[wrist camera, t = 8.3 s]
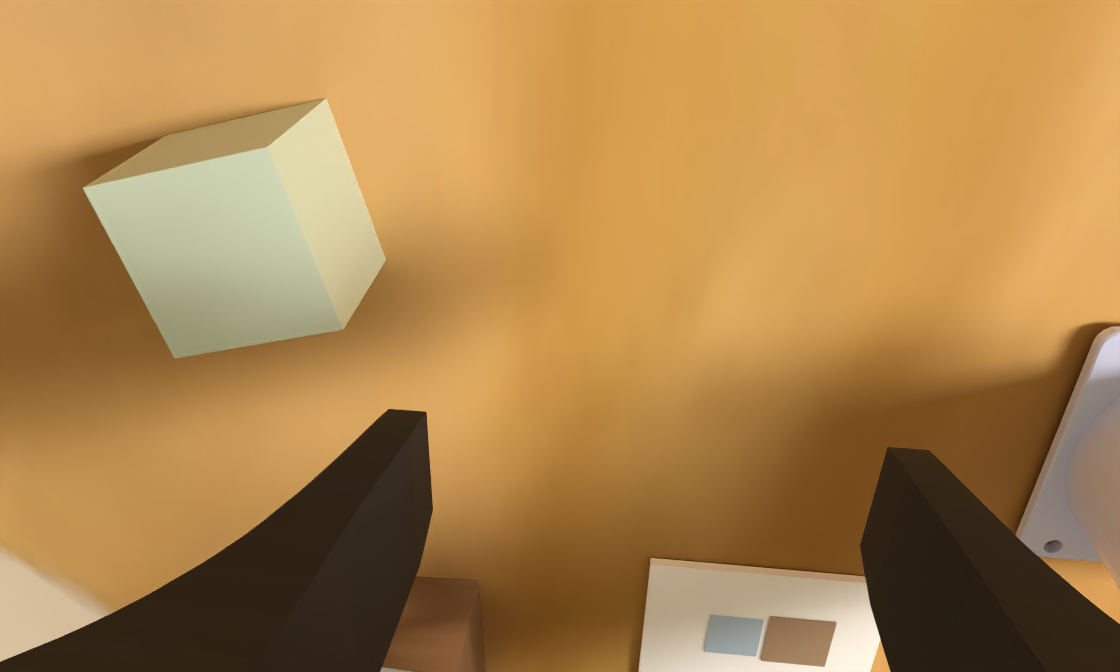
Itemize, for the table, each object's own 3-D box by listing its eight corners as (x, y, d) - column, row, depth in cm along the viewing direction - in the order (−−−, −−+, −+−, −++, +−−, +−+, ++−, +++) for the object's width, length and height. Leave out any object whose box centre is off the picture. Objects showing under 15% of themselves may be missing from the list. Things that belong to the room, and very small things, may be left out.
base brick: (478, 577, 30) (456, 673, 27) (487, 678, 33) (468, 777, 29) (329, 568, 30) (288, 661, 27) (350, 668, 33) (315, 765, 30)
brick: (327, 97, 22) (267, 147, 18) (387, 258, 24) (342, 329, 20) (168, 133, 23) (82, 187, 19) (240, 285, 25) (174, 358, 21)
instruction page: (895, 579, 28) (898, 587, 28) (857, 696, 31) (859, 705, 31) (650, 557, 28) (650, 566, 28) (637, 675, 31) (637, 684, 31)
